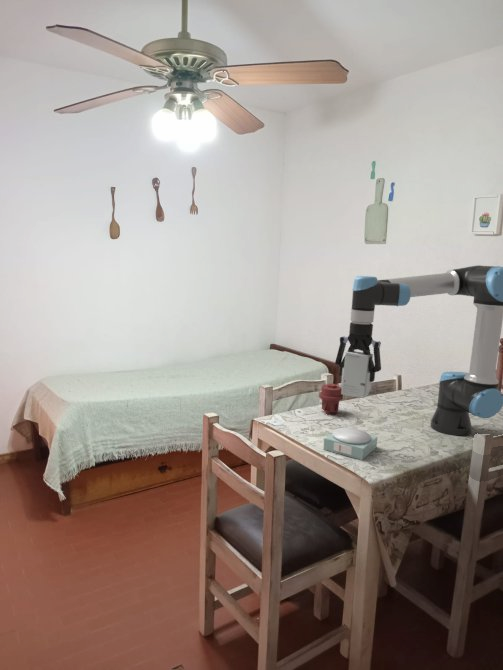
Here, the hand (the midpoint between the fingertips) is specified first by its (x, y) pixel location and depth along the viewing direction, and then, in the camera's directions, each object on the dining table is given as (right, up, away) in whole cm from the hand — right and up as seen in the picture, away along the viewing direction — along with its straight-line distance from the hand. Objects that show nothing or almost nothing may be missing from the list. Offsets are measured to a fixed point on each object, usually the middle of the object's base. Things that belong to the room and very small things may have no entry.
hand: (355, 387), depth 168 cm
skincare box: (0, -3, 0) cm, 3 cm away
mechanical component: (-2, -15, +41) cm, 44 cm away
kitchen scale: (-1, -21, +3) cm, 22 cm away
